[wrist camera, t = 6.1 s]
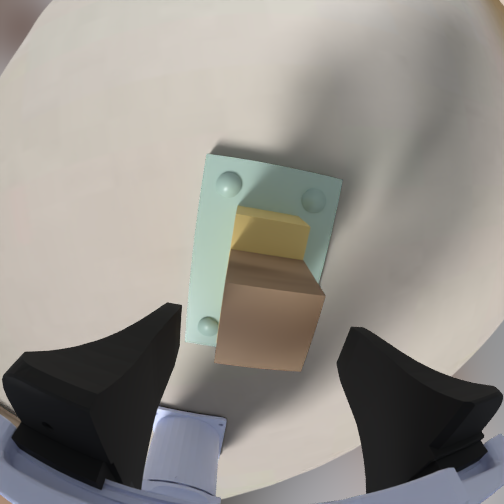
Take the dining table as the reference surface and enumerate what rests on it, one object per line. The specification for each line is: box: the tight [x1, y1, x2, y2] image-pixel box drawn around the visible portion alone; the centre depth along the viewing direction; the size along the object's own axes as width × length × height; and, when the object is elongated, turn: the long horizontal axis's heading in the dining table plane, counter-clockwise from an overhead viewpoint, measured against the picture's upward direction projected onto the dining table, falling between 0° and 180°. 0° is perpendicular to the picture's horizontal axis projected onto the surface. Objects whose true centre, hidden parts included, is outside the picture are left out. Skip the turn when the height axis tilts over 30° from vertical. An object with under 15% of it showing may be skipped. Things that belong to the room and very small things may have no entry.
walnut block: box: [214, 249, 325, 372], centre depth 13 cm, size 4×4×4 cm
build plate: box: [185, 154, 343, 347], centre depth 19 cm, size 14×9×1 cm, turn 170°
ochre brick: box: [216, 206, 311, 342], centre depth 17 cm, size 8×4×4 cm, turn 170°
